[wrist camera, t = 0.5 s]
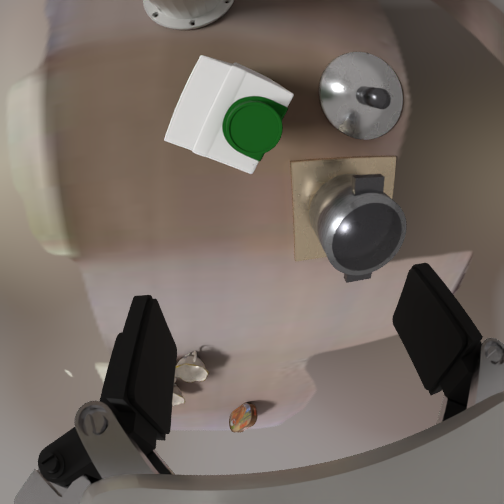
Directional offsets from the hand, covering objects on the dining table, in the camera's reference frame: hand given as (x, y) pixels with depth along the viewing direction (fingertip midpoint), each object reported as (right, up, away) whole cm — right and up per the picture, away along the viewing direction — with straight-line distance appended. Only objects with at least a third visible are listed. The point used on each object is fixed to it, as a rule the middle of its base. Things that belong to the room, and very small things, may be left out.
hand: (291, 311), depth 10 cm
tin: (-5, -51, +75) cm, 91 cm away
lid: (+15, +26, +25) cm, 39 cm away
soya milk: (-5, +23, +24) cm, 34 cm away
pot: (+14, +9, +35) cm, 39 cm away
